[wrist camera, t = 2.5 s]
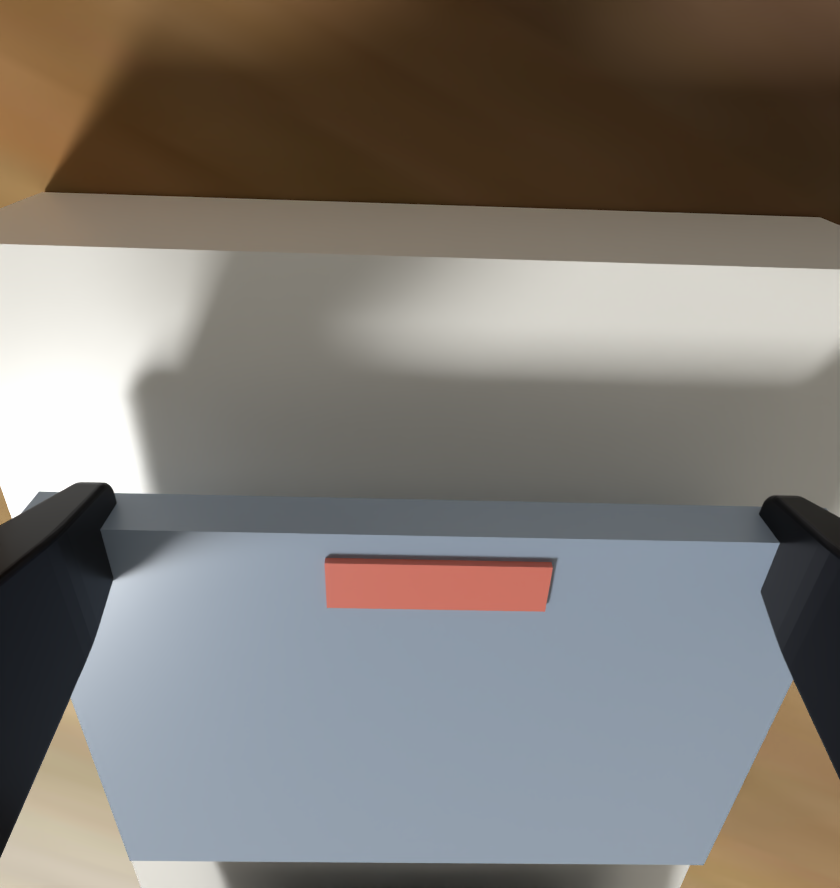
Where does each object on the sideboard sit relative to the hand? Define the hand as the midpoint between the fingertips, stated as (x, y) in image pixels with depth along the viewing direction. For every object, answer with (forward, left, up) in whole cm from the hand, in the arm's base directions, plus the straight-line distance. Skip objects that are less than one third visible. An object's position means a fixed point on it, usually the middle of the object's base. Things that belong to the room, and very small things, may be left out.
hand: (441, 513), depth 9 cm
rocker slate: (0, +4, 0) cm, 4 cm away
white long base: (0, +9, -5) cm, 11 cm away
